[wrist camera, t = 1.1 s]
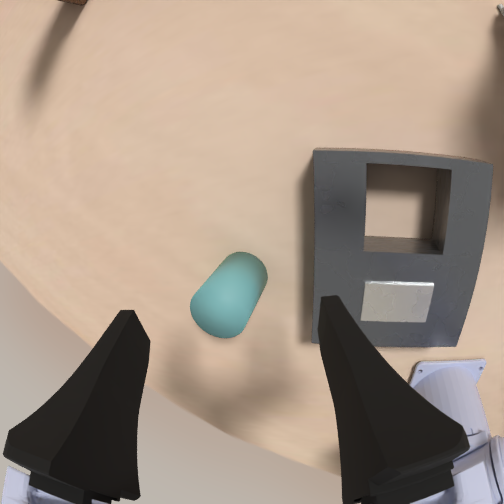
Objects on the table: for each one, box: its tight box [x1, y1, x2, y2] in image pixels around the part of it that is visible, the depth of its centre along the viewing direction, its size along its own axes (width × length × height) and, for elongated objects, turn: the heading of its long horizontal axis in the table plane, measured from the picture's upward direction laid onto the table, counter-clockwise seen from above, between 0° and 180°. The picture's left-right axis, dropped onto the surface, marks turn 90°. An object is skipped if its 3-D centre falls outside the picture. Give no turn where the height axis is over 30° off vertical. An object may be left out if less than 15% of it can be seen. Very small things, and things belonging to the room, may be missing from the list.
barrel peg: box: [190, 252, 268, 338], centre depth 23 cm, size 4×4×6 cm
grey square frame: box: [312, 148, 493, 347], centre depth 19 cm, size 14×12×3 cm
